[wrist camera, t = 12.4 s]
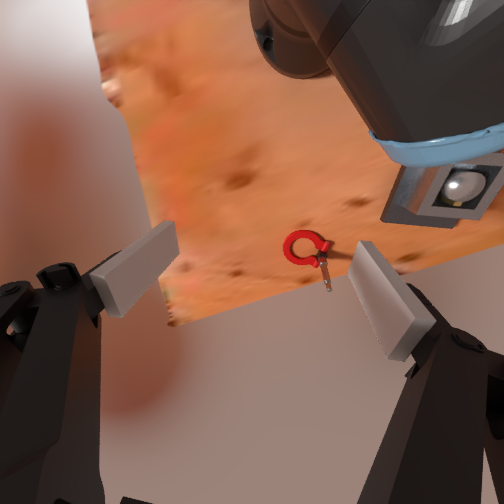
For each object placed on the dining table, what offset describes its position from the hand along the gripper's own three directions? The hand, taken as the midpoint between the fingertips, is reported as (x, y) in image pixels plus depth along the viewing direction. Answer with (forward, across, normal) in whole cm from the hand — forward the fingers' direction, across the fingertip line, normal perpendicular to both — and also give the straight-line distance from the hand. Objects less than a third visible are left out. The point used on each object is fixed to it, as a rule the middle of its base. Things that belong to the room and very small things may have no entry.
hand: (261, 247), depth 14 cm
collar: (+25, +27, +2) cm, 37 cm away
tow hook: (+27, +8, -14) cm, 31 cm away
